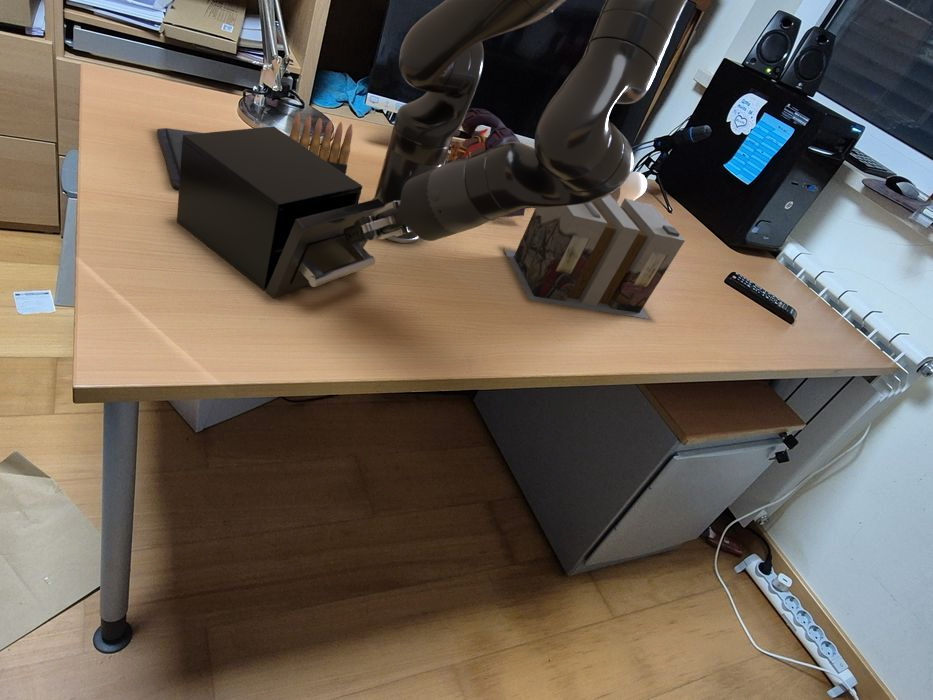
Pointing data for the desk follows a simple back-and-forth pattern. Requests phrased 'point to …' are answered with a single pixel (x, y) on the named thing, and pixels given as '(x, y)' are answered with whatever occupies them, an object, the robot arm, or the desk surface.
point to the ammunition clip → (324, 141)
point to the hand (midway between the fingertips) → (349, 236)
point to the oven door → (321, 250)
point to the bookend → (595, 255)
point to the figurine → (482, 138)
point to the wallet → (172, 151)
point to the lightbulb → (632, 187)
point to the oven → (254, 194)
